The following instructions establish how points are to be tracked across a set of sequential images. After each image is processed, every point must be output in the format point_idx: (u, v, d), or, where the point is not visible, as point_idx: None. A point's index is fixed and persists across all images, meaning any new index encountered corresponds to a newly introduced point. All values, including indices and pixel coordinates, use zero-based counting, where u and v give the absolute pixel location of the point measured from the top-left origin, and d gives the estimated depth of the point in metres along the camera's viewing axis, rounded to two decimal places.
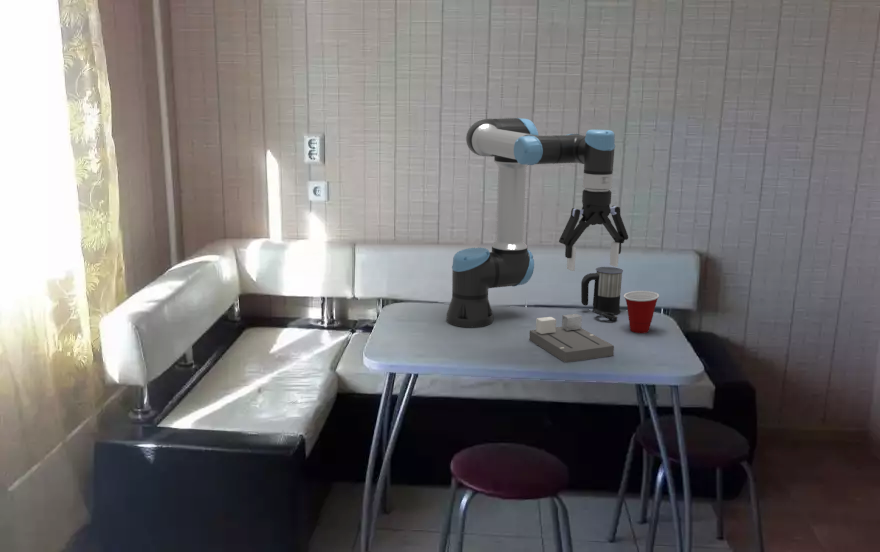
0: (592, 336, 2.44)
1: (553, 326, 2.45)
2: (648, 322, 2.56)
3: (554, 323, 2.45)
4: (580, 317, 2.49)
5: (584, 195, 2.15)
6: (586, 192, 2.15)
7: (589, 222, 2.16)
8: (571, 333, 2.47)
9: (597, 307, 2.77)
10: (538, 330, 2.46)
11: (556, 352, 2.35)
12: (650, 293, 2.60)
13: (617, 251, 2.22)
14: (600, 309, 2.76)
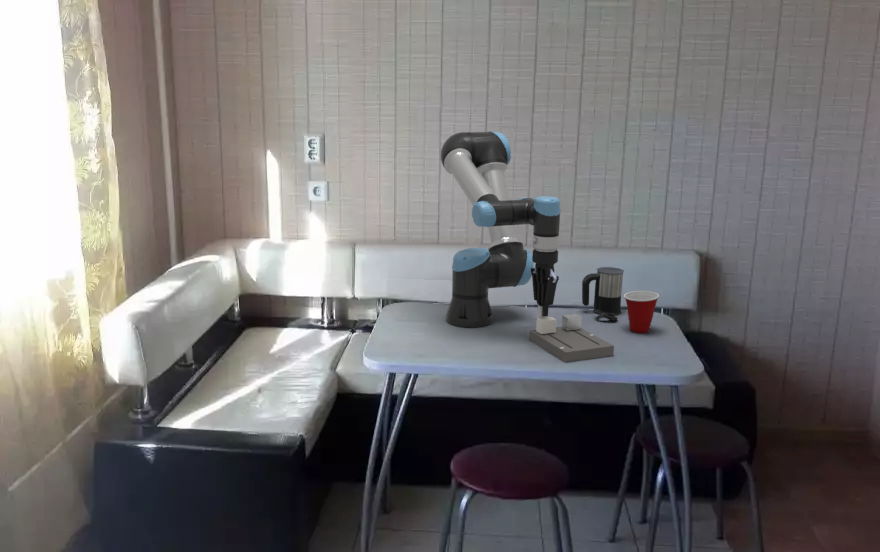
0: (592, 336, 2.44)
1: (553, 326, 2.45)
2: (648, 322, 2.56)
3: (554, 323, 2.45)
4: (580, 317, 2.49)
5: None
6: None
7: (537, 278, 2.45)
8: (571, 333, 2.47)
9: (598, 307, 2.76)
10: (538, 330, 2.45)
11: (556, 352, 2.35)
12: (650, 293, 2.60)
13: (539, 313, 2.46)
14: (601, 309, 2.75)
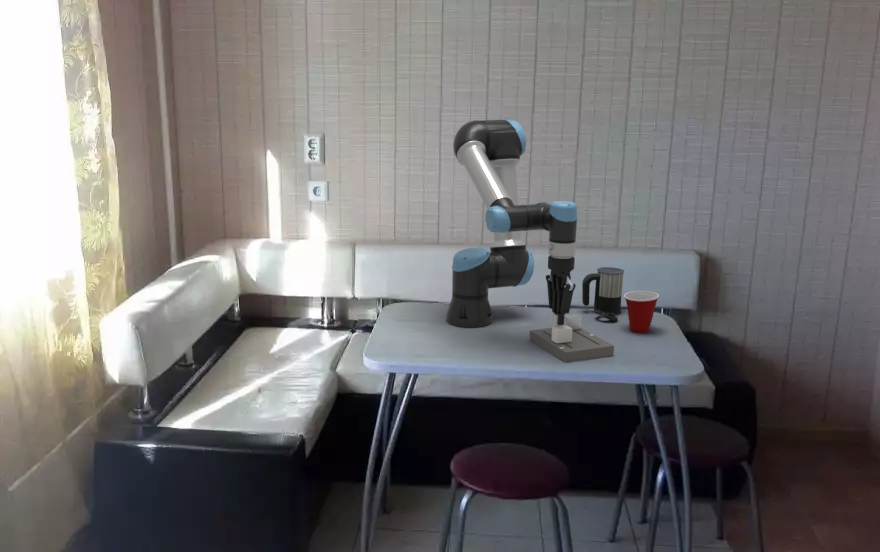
0: (592, 336, 2.44)
1: (569, 335, 2.37)
2: (648, 322, 2.56)
3: (570, 332, 2.37)
4: (580, 317, 2.49)
5: None
6: None
7: (552, 285, 2.37)
8: None
9: (598, 307, 2.76)
10: (554, 339, 2.37)
11: (556, 352, 2.35)
12: (650, 293, 2.60)
13: (554, 321, 2.38)
14: (601, 309, 2.75)
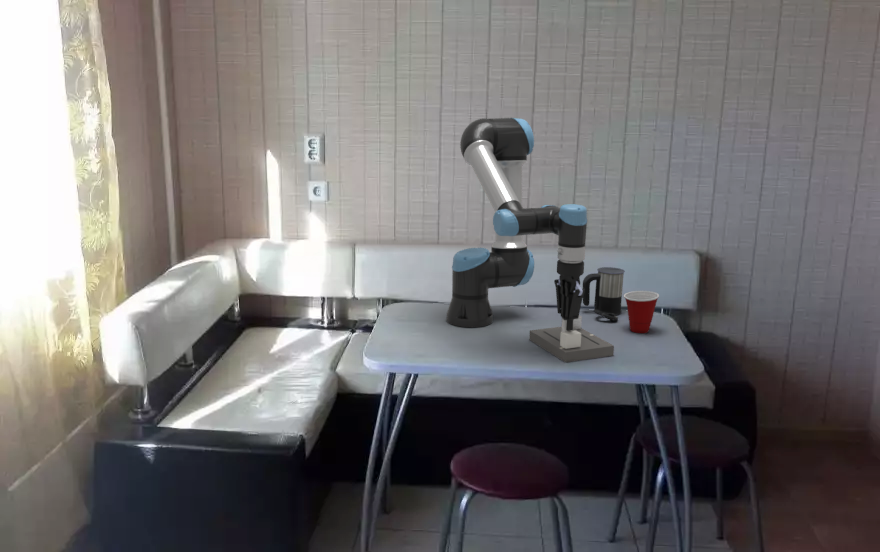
0: (592, 336, 2.44)
1: (578, 340, 2.33)
2: (648, 322, 2.56)
3: (579, 337, 2.33)
4: (580, 317, 2.49)
5: None
6: None
7: (561, 290, 2.33)
8: None
9: (598, 307, 2.76)
10: (562, 344, 2.33)
11: (556, 352, 2.35)
12: (650, 293, 2.60)
13: (563, 327, 2.34)
14: (601, 309, 2.75)
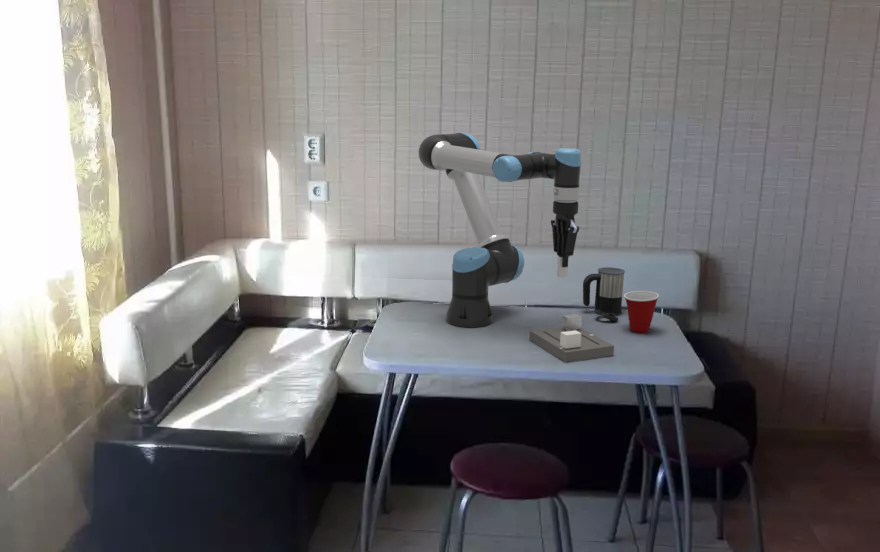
0: (592, 336, 2.44)
1: (578, 340, 2.33)
2: (648, 322, 2.56)
3: (579, 337, 2.33)
4: (580, 317, 2.49)
5: None
6: None
7: (557, 229, 2.49)
8: None
9: (599, 308, 2.76)
10: (562, 344, 2.33)
11: (556, 352, 2.35)
12: (650, 293, 2.60)
13: (559, 264, 2.51)
14: (602, 310, 2.75)
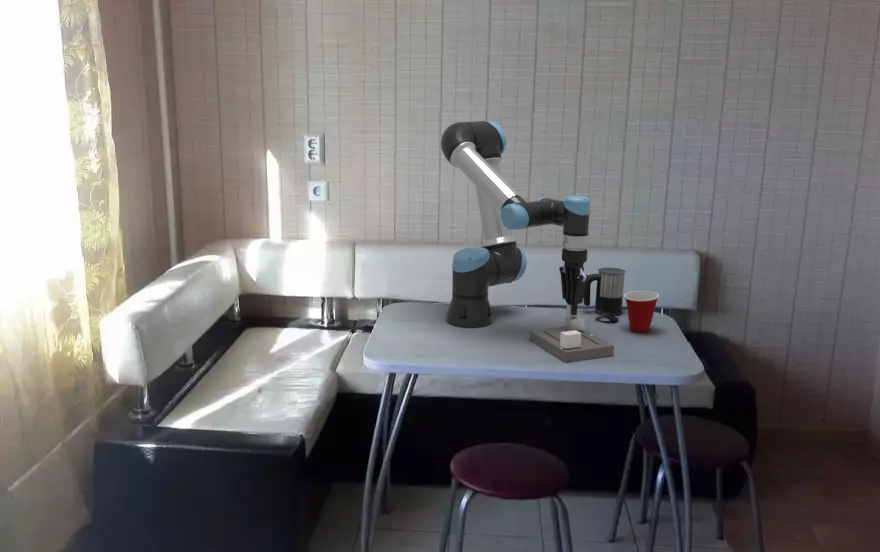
0: (592, 336, 2.44)
1: (578, 340, 2.33)
2: (648, 322, 2.56)
3: (579, 337, 2.33)
4: (583, 319, 2.47)
5: None
6: None
7: (566, 277, 2.47)
8: None
9: (599, 308, 2.76)
10: (562, 344, 2.33)
11: (556, 352, 2.35)
12: (650, 293, 2.60)
13: (568, 311, 2.48)
14: (602, 310, 2.75)
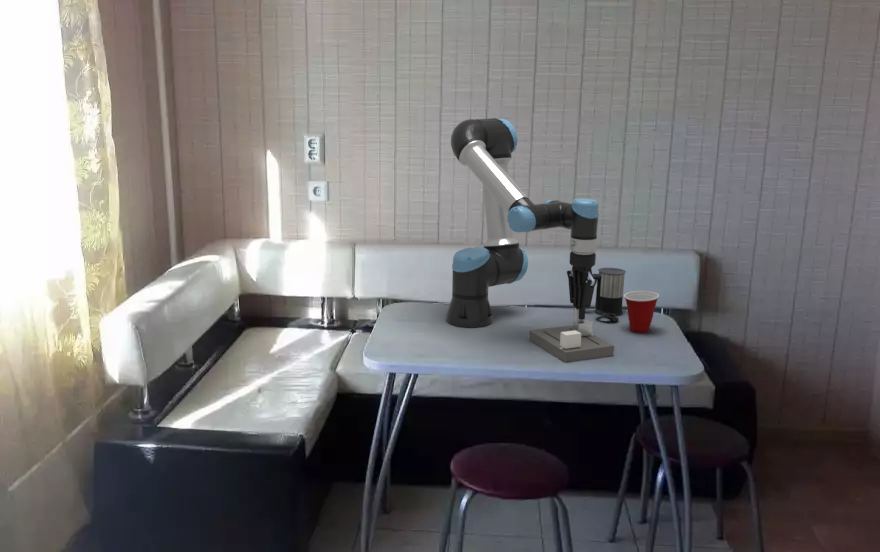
0: (592, 336, 2.44)
1: (578, 340, 2.33)
2: (648, 322, 2.56)
3: (579, 337, 2.33)
4: (591, 323, 2.43)
5: None
6: None
7: (574, 280, 2.43)
8: None
9: (599, 308, 2.76)
10: (562, 344, 2.33)
11: (556, 352, 2.35)
12: (650, 293, 2.60)
13: (576, 316, 2.44)
14: (602, 310, 2.75)
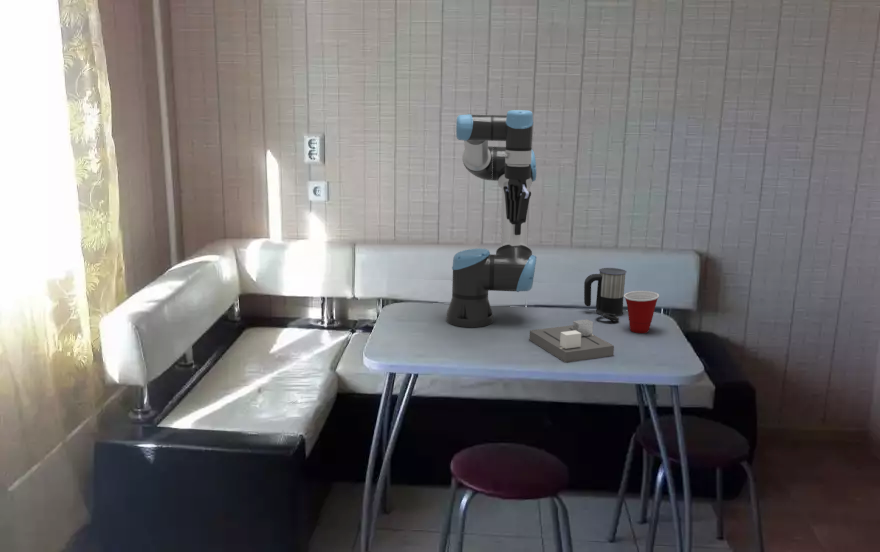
0: (592, 336, 2.44)
1: (578, 340, 2.33)
2: (648, 322, 2.56)
3: (579, 337, 2.33)
4: (591, 323, 2.43)
5: None
6: None
7: (509, 195, 2.39)
8: None
9: (600, 308, 2.76)
10: (562, 344, 2.33)
11: (556, 352, 2.35)
12: (650, 293, 2.60)
13: (511, 231, 2.40)
14: (603, 310, 2.75)
